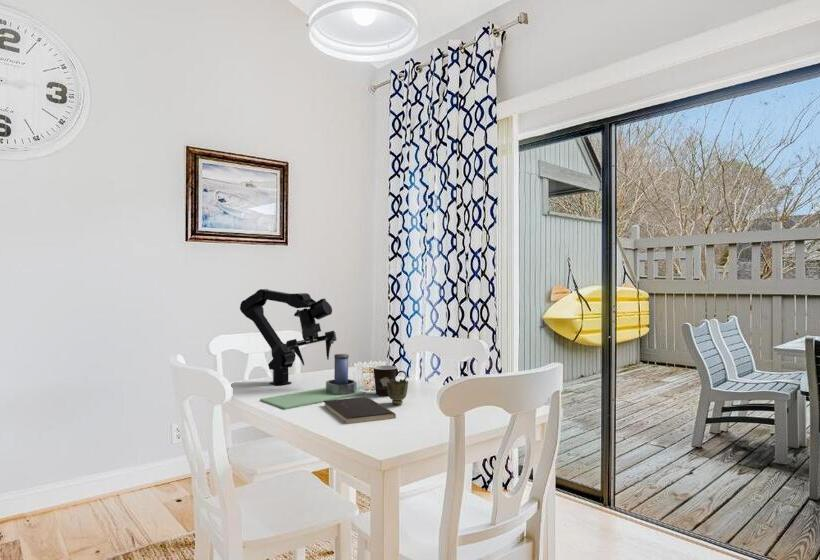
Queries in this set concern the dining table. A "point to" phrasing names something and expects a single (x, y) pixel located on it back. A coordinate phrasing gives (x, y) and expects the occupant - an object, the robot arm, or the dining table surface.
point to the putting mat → (305, 398)
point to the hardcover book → (358, 410)
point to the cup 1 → (341, 387)
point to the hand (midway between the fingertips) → (315, 362)
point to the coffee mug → (384, 378)
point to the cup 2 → (397, 390)
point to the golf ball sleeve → (341, 369)
